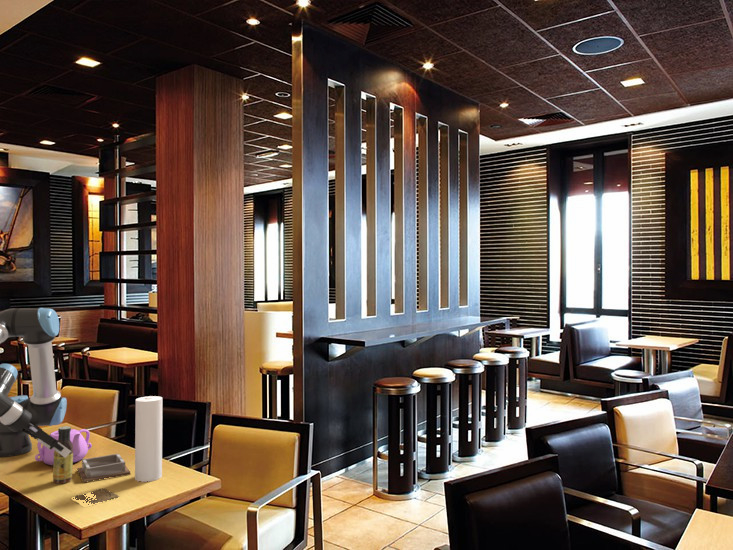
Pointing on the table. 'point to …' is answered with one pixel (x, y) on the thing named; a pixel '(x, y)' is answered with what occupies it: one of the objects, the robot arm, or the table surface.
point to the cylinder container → (148, 438)
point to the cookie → (98, 496)
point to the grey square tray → (102, 467)
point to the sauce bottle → (63, 458)
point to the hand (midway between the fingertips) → (60, 450)
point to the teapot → (77, 441)
